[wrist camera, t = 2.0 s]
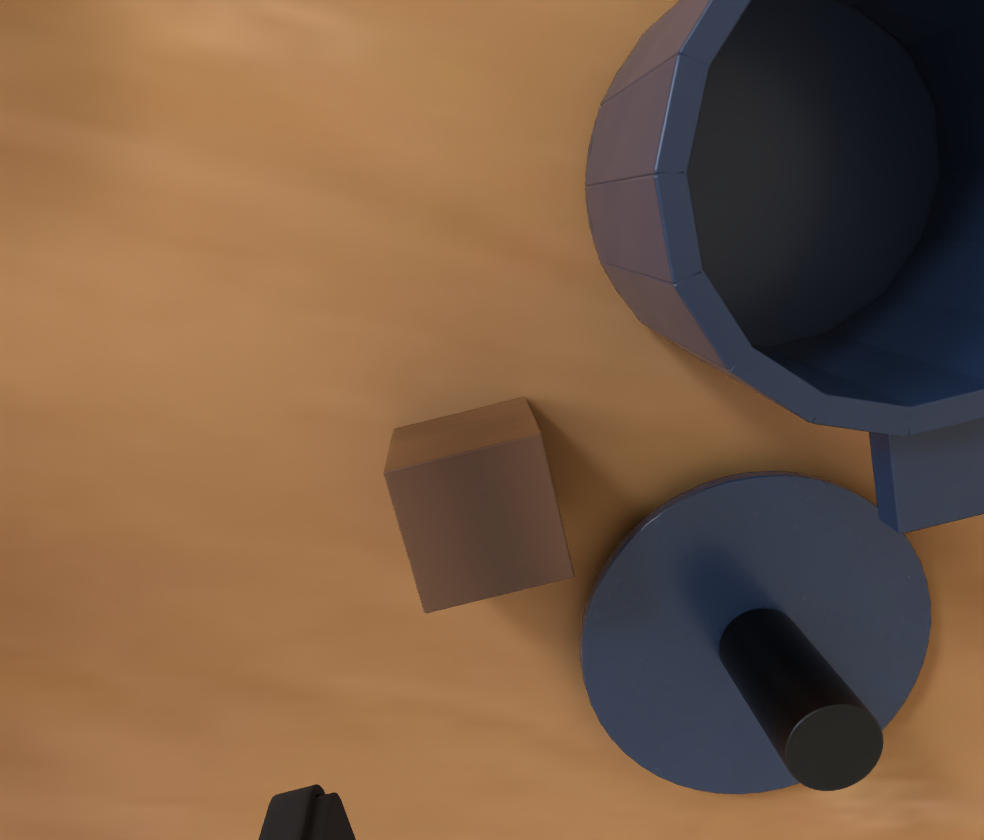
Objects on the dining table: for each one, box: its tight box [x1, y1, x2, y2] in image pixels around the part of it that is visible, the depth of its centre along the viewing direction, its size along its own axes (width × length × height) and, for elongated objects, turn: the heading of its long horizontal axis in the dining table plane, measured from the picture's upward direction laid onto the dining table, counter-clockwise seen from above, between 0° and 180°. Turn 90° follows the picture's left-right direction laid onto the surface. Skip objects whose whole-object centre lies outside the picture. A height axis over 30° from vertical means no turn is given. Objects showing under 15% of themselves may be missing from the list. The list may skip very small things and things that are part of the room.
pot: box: [585, 0, 984, 534], centre depth 20 cm, size 11×17×8 cm
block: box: [384, 397, 574, 613], centre depth 24 cm, size 4×4×4 cm
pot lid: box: [580, 471, 931, 794], centre depth 25 cm, size 12×12×7 cm
